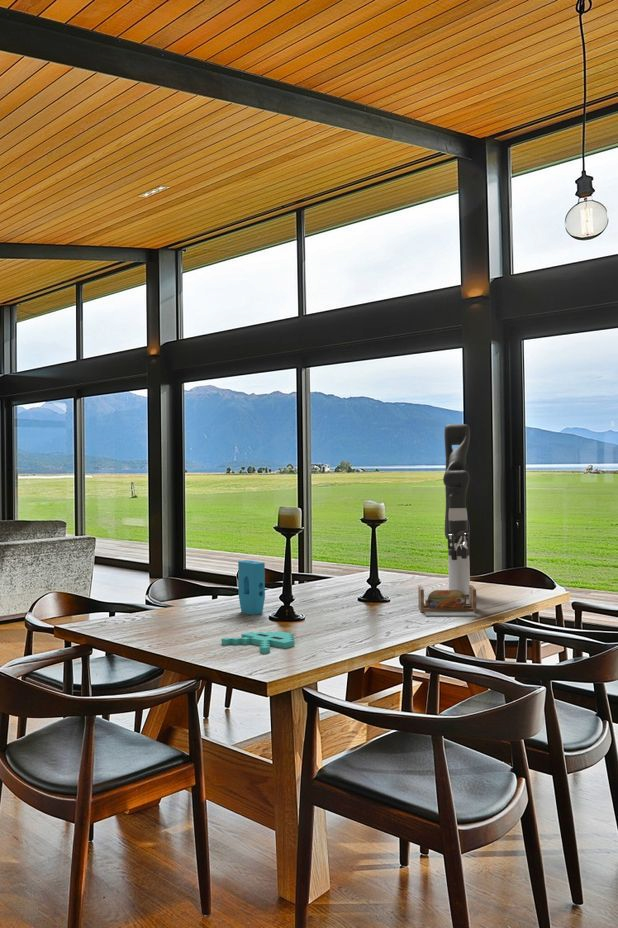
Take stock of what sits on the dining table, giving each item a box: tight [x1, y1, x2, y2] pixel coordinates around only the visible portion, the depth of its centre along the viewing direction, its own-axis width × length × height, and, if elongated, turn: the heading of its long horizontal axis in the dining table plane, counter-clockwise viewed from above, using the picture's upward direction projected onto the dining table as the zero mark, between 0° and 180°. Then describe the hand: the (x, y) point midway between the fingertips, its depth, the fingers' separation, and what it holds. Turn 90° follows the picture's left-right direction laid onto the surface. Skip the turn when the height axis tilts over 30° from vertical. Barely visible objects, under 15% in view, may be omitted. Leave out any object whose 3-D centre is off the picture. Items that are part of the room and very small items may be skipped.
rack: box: [417, 584, 477, 614], centre depth 308 cm, size 11×21×9 cm, turn 87°
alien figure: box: [221, 630, 295, 655], centre depth 254 cm, size 20×2×20 cm
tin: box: [427, 589, 467, 608], centre depth 307 cm, size 15×3×8 cm, turn 90°
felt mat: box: [424, 612, 477, 618], centre depth 298 cm, size 7×19×1 cm, turn 87°
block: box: [237, 559, 266, 616], centre depth 307 cm, size 12×5×20 cm, turn 41°
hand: (459, 559), depth 316 cm, fingers open, 8 cm apart
